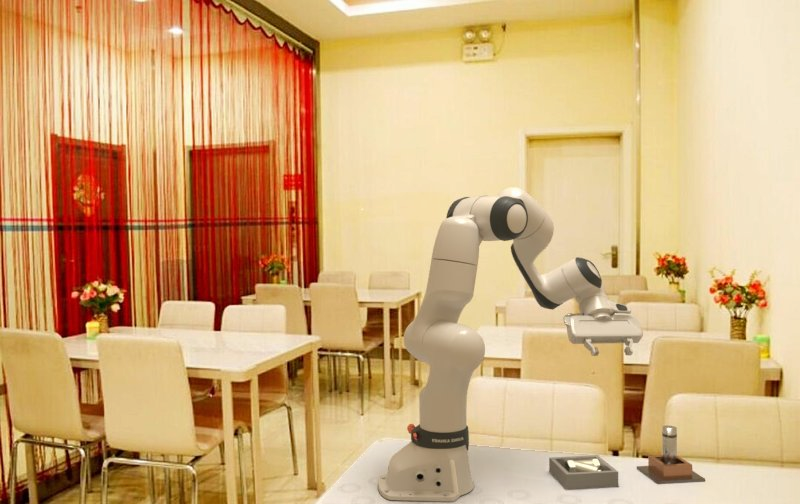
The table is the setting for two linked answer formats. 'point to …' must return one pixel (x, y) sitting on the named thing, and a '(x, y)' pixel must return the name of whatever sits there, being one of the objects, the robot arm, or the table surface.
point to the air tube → (669, 444)
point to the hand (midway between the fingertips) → (612, 354)
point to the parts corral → (583, 474)
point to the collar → (669, 471)
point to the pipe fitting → (582, 465)
